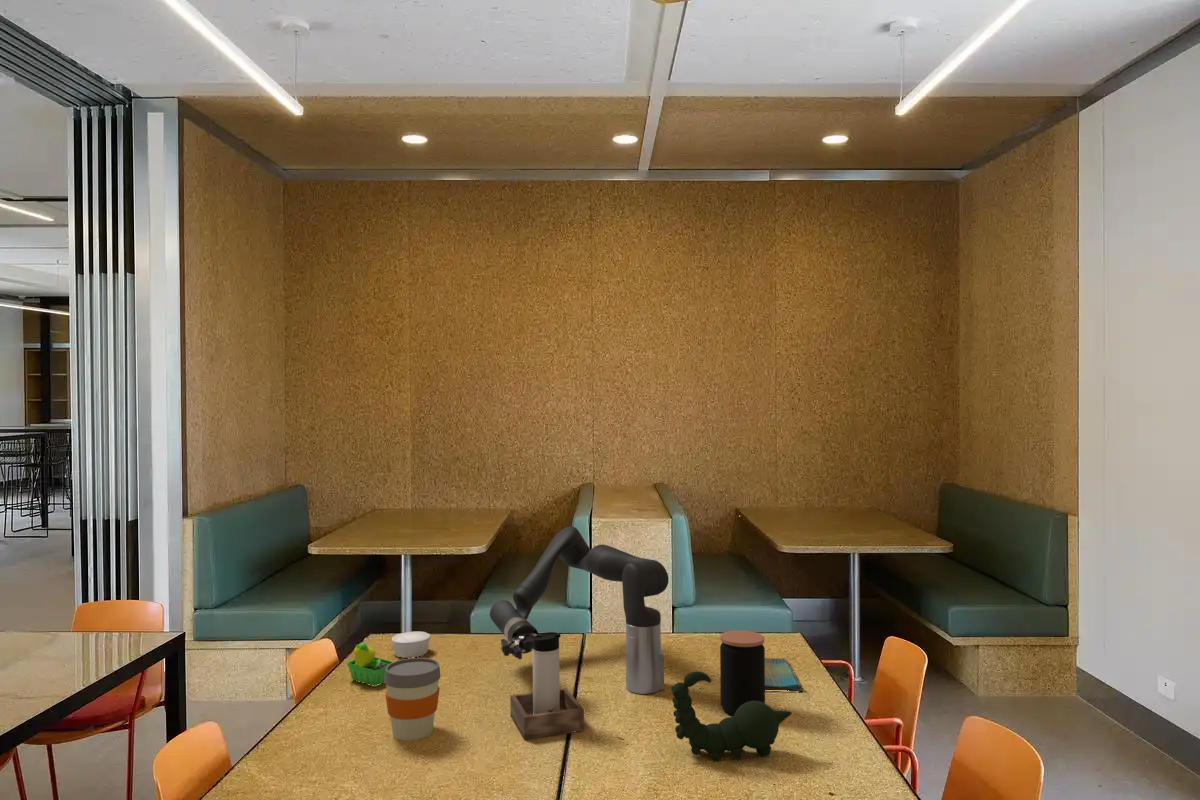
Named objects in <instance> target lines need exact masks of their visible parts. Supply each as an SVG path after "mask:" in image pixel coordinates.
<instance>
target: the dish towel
mask: <svg viewBox="0 0 1200 800" xmlns="http://www.w3.org/2000/svg"><path fill="white" fill-rule="evenodd" d="M802 688H803V686H802V685H801V683H800V682H799V680H798V678H797V675H796V674H795V672H794V671H793V669H792V667H791V666H790V664H789V662H788V661H787V659H786V658H785V657H782V658H769V657H767V658H766V657H765V690H787V691H788V690H789V691H803V690H802Z"/></svg>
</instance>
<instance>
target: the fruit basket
mask: <svg viewBox="0 0 1200 800" xmlns="http://www.w3.org/2000/svg"><path fill="white" fill-rule="evenodd" d="M353 653H354V659H353V660H349V661H347V662H346V664H347V667H348V669H349V673H350V676H351V680H352V679H353V680H357V681H360V682H364V683H366V684H370V685H374V686H375V685H377V684H380V683H383V682H384V678H385V669H386V667H387V665H389V664H391V663H393V662H394V661H392V660H388V659H385V658H380V657H375V655H376V650H375V649H374V648H372V647H371V646H368V645H367V643H365V642H360V643H359V644H356V645H355V648H354V649H353ZM353 680H352V681H353ZM366 684H365V685H366ZM383 684H384V683H383ZM370 685H369V686H370Z"/></svg>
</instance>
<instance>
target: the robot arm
mask: <svg viewBox="0 0 1200 800" xmlns="http://www.w3.org/2000/svg"><path fill="white" fill-rule="evenodd" d="M558 557H559V558H560V560H561V561H562V562H563V564H565V565H566V566H568V567H570V568H574V569H578V570H583V571H585V572H587V573H589V574H593V575H594V576H597V577H599V578H601V579H603V580H606V581H610V582H611V581H612V582H619V583H620V582H621V583H622V584H621V585H622V586H621V587H622V598H623V599H622V601H623V611H624V616H625V687H626V690H628V691H629V692H630V693H631V692H632V693H634V694H641V695H642V694H643V695H647V694H648V695H649V694H654V693H657V692H659V691H662V690H665V653H664V651H662V641H661V640H662V638H661V637H662V636H661V635H662V633H661V632H662V628H661V627H662V626H661V625H662V623H661V622H662V615H661V612H660V611H659V610H658V609H656V608H653V607H649V606H646V603H645V598H647V597H654V596H658V595H659V594H660V595H661V593H663V592H664V591H665V590H666V589H667V588H668V586H669V582H670V581H669V580H670V579H669V578H670V577H669V574H668V572H667V569H666V568H665V566H664V565H663V564H662V563H661V562H660V561H658V560H655V559H649V558H644V557H640V556H636V555H633V554H630V553H628V552H627V551H623V550H620V549H618V548H616V547H613V546H611V545H607V544H597V545H595V546H593V547H592V548H591V547H589V545H588V543H587V542H586V540H585V538H584V537H583V535H582V534H581V532H580V531H579V530H578V528H576V527H575V526H571V525H570V526H566V527H564V528H562V529H561V530H560V531H558V532H557V533H556V534H555V535H554V536H553V538H552V539H551V541H550V542H549V544H548V545H547V547H546V548H545V550H544V552H543V553H542V555H540V558H539V559H538V561H537V563H536V565H535V566H534V567H533V568H532V570H531V572H530V573H529V574H528V576H527V577H525V579H523V581H522V582H521V583H520V584H519V586H517V588H516V589H515V590H514V592H513V593H512V599H513V602H514V604H515V607H514V605H513V604H512V602H511V601H509V600H507V599H501V600H499V601H496V602H494V604H493V605H492V606H491V608H490V610H489V618H490V619H491V621H492V622H493V624H494V625H495V626H496V627H497V629H498V630H499V631H500V632H501V634H503V636H504V637H505V638H502V639H500V649H501V652H502V654H503V656H504V657H508V656H510V655H511V656H512V657H513V656H514V658H516V659H518V660H522V659H523V654H528V653H530V652H531V653H532V652H533V638H534V637H535V636H536V635H538V634H540V633H539V632H538V630H537V628H536V627H535V626H534V625H533V624H532V623H531V622H530V621H529V620H528V619H529V615H530V614H531V612H532V610H533V608H534V606H535V605H536V604H537V603H538V602H539V600H540V599H541V598H542V597H543V595H545V593H546V591H547V590H548V587H549V585H550V581H551V577H552V574H553V569H554V566H555V564H556V561H557V559H558Z"/></svg>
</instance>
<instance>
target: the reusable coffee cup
mask: <svg viewBox="0 0 1200 800" xmlns="http://www.w3.org/2000/svg"><path fill="white" fill-rule="evenodd" d="M392 662H393V663H391V664H389V665H387V667H386V669H385V678H384V682H385V683H384V684H385V685H386V686H385V687H386V692H385V700H386V709H387V714H388V716H389V717H390V724H391V731H392V736H393V738H395V739H396V738H397V740H400V741H416V740H422V739H425V738H426V737H428V736H430V735H431V734H432V733H433V732H434V725H435V724H434V723H435V715H436V711H437V710H438V706H439V705H438V703H439V696H440V686H439V682H440V681H439V680H440V679H441V667H440V662H439V661H437V660H436V659H432V658H427V657H417V658H409V659H404V658H402V659H399V660H396V661H392Z"/></svg>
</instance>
